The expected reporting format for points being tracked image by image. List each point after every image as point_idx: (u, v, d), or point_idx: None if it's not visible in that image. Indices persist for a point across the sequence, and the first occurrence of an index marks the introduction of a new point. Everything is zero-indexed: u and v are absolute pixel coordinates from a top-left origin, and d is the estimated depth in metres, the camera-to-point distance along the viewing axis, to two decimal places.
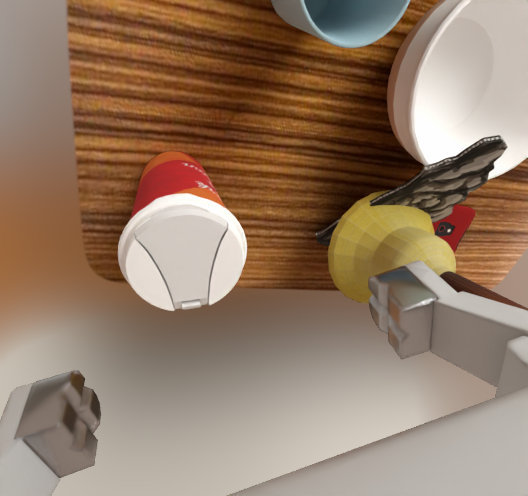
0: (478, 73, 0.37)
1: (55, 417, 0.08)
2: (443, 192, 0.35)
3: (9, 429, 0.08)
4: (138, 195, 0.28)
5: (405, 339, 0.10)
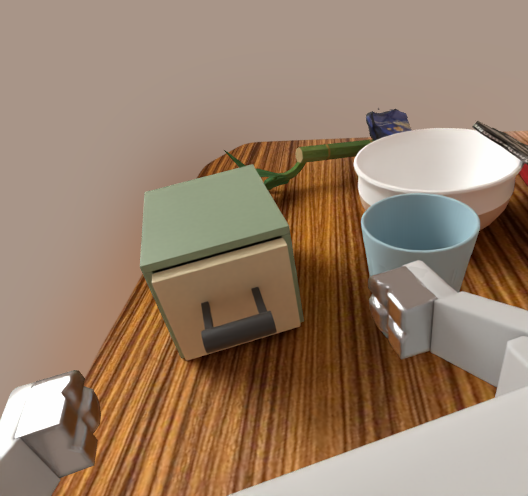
0: None
1: (55, 417, 0.08)
2: None
3: (9, 429, 0.08)
4: None
5: (405, 339, 0.10)
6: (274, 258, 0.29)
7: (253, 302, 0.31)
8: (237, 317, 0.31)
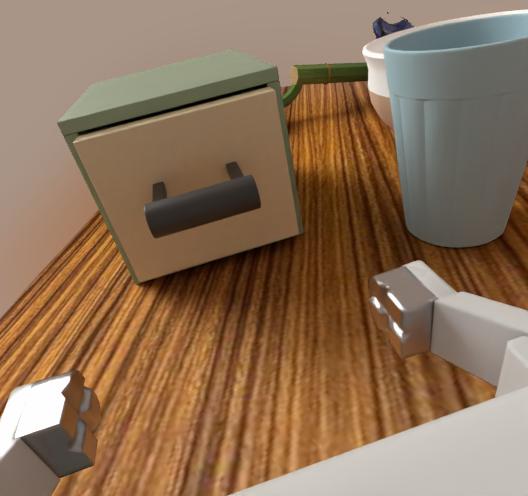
0: None
1: (55, 417, 0.08)
2: None
3: (9, 429, 0.08)
4: None
5: (405, 339, 0.10)
6: (257, 112, 0.20)
7: None
8: None
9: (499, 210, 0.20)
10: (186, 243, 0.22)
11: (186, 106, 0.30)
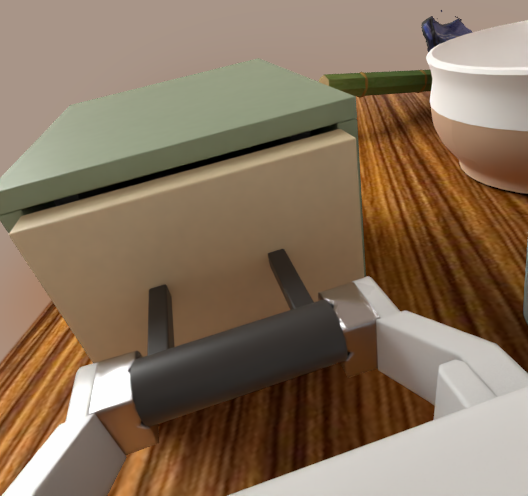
0: None
1: (126, 394, 0.09)
2: None
3: (82, 405, 0.08)
4: None
5: (350, 358, 0.09)
6: (324, 174, 0.12)
7: (272, 287, 0.13)
8: (236, 322, 0.14)
9: None
10: None
11: None
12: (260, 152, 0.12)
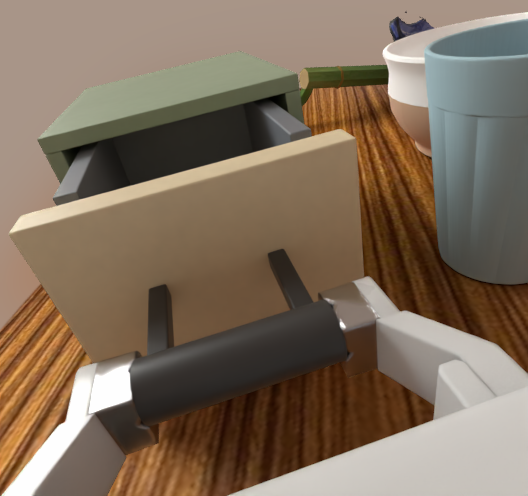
0: None
1: (126, 394, 0.09)
2: None
3: (82, 405, 0.08)
4: None
5: (350, 358, 0.09)
6: (324, 174, 0.12)
7: (272, 287, 0.14)
8: (236, 322, 0.14)
9: None
10: None
11: (197, 137, 0.22)
12: (260, 152, 0.12)
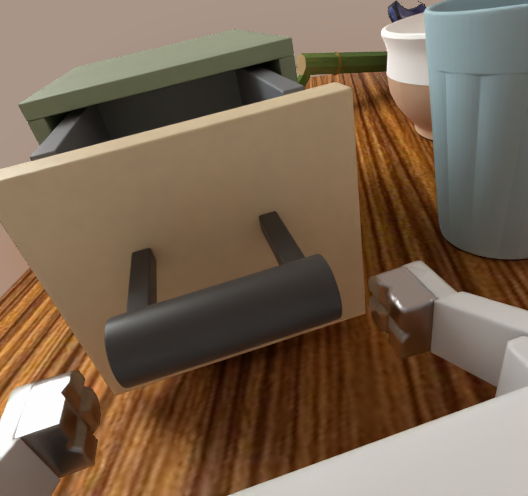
0: None
1: (55, 417, 0.08)
2: None
3: (9, 429, 0.08)
4: None
5: (405, 339, 0.10)
6: (319, 128, 0.11)
7: (264, 254, 0.13)
8: None
9: None
10: None
11: (189, 111, 0.21)
12: (250, 105, 0.11)
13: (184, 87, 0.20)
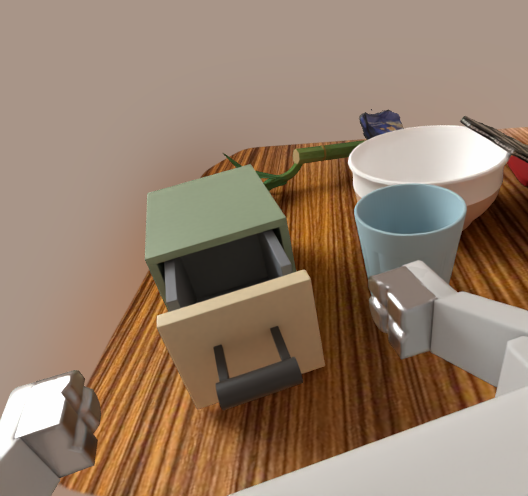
0: None
1: (55, 417, 0.08)
2: (520, 146, 0.39)
3: (9, 429, 0.08)
4: None
5: (405, 339, 0.10)
6: (296, 294, 0.25)
7: (272, 343, 0.27)
8: (254, 360, 0.27)
9: None
10: None
11: None
12: (266, 283, 0.25)
13: None
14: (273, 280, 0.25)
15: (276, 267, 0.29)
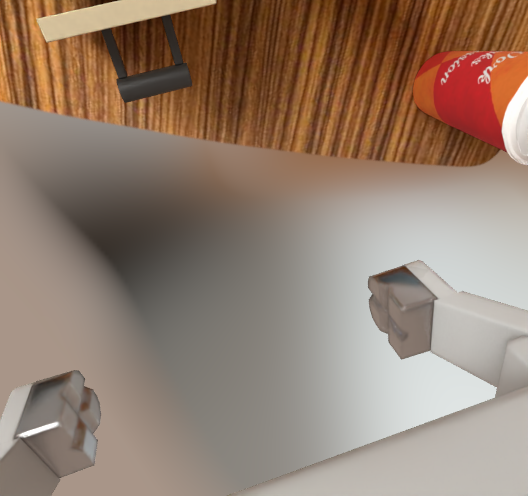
0: None
1: (55, 417, 0.08)
2: None
3: (9, 429, 0.08)
4: (466, 131, 0.34)
5: (405, 339, 0.10)
6: None
7: None
8: None
9: None
10: None
11: None
12: None
13: None
14: None
15: None
